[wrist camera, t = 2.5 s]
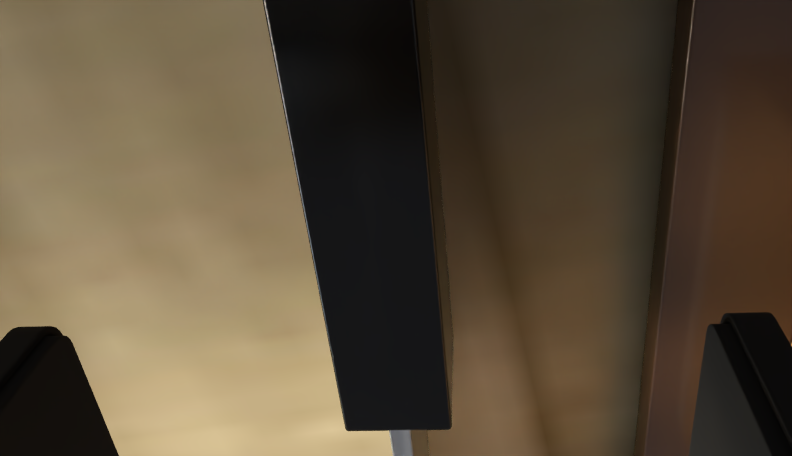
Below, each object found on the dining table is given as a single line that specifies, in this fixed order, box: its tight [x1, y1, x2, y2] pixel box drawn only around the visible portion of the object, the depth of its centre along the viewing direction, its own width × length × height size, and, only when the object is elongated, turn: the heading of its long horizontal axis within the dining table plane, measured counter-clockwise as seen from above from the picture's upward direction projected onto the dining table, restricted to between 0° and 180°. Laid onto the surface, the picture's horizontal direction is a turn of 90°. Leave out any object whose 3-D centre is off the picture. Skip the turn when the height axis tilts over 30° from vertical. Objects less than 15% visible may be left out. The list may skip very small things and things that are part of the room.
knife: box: [263, 0, 453, 456], centre depth 18 cm, size 24×2×3 cm, turn 6°
